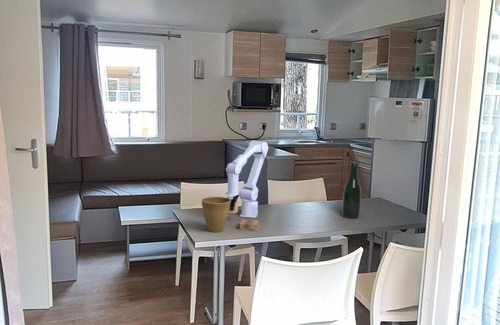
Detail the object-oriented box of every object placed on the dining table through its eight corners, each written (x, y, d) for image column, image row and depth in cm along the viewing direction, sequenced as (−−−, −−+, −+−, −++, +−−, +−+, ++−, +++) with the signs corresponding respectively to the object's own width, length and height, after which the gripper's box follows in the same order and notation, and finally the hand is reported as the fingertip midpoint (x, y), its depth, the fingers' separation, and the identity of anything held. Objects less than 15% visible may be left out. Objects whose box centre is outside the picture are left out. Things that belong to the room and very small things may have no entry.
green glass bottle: (338, 216, 270) (341, 161, 265) (347, 213, 278) (351, 159, 273) (353, 220, 263) (357, 163, 258) (363, 216, 271) (367, 161, 265)
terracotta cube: (237, 211, 254) (237, 202, 254) (236, 213, 250) (236, 204, 249) (228, 210, 255) (228, 201, 254) (227, 212, 250) (227, 203, 249)
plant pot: (228, 225, 243) (229, 196, 241) (231, 234, 228) (232, 203, 226) (200, 225, 241) (201, 196, 238) (201, 234, 226) (201, 203, 224)
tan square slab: (258, 225, 245) (258, 220, 244) (256, 230, 236) (257, 225, 235) (242, 224, 246) (242, 219, 245) (239, 229, 237) (239, 223, 237)
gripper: (228, 182, 257) (227, 205, 260) (223, 187, 243) (223, 211, 245) (240, 182, 257) (239, 206, 259) (236, 188, 242) (235, 212, 245)
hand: (232, 209), depth 252 cm, fingers closed on terracotta cube, 5 cm apart
